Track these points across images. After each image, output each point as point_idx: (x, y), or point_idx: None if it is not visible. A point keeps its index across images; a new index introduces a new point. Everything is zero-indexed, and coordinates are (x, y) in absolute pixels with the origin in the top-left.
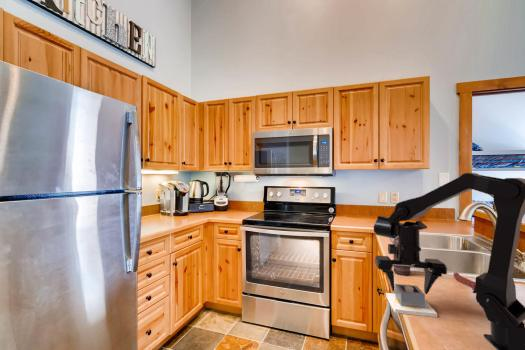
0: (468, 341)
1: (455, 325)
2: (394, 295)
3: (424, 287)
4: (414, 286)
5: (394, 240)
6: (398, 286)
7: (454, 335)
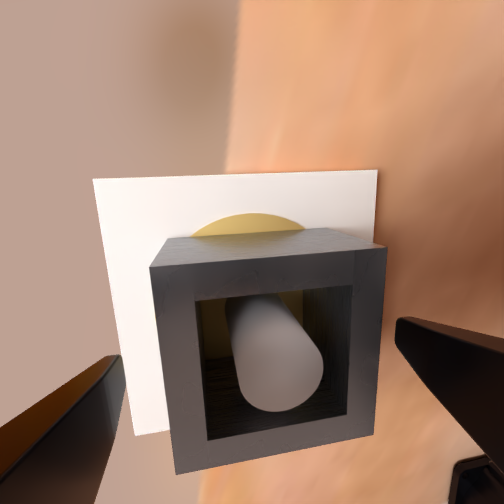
0: None
1: (397, 423)
2: (165, 216)
3: (434, 345)
4: (354, 278)
5: None
6: (178, 333)
7: (354, 497)
